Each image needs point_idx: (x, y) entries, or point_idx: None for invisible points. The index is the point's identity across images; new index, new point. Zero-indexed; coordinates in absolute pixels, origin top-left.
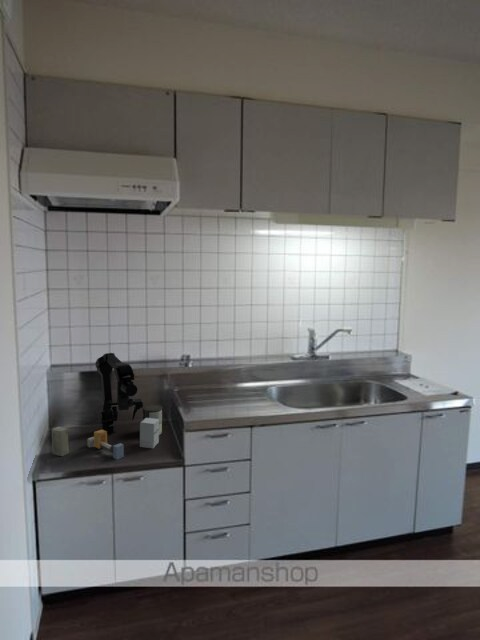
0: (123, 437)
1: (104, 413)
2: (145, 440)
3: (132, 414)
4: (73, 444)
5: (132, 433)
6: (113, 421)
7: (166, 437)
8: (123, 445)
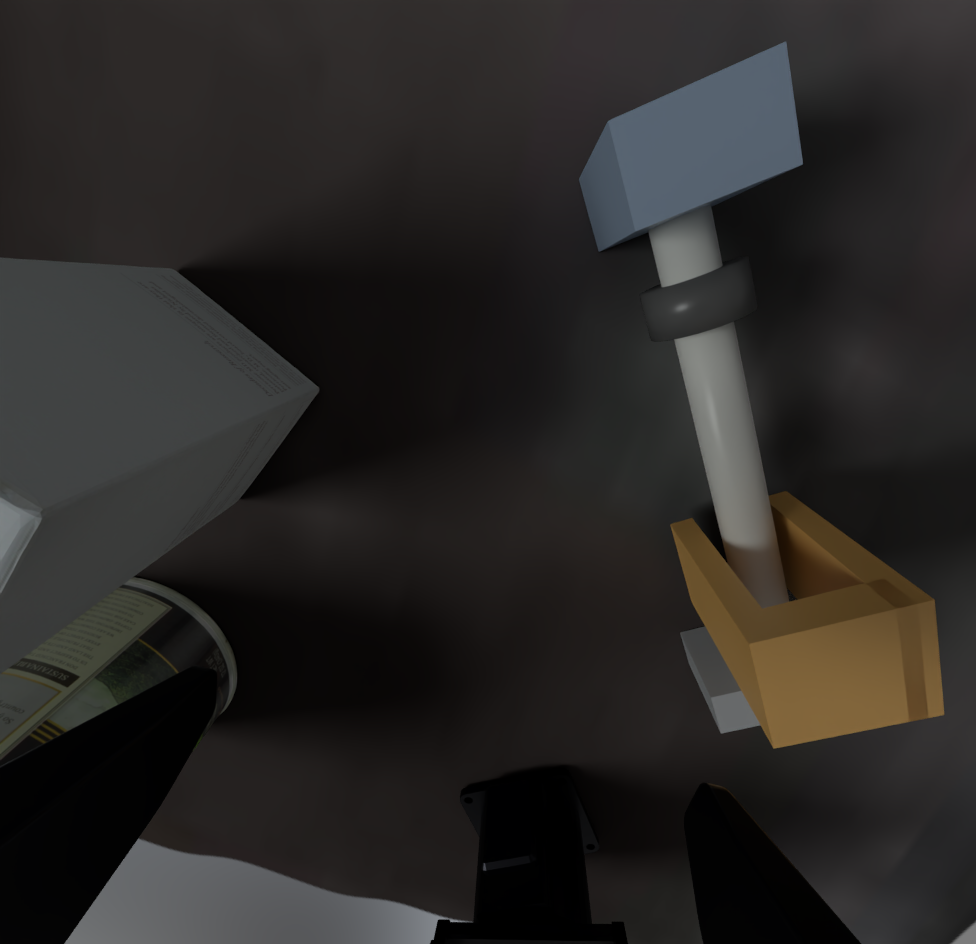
0: (428, 670)
1: None
2: (207, 346)
3: (70, 875)
4: (906, 724)
5: (328, 710)
6: (711, 789)
7: None
8: (610, 123)
